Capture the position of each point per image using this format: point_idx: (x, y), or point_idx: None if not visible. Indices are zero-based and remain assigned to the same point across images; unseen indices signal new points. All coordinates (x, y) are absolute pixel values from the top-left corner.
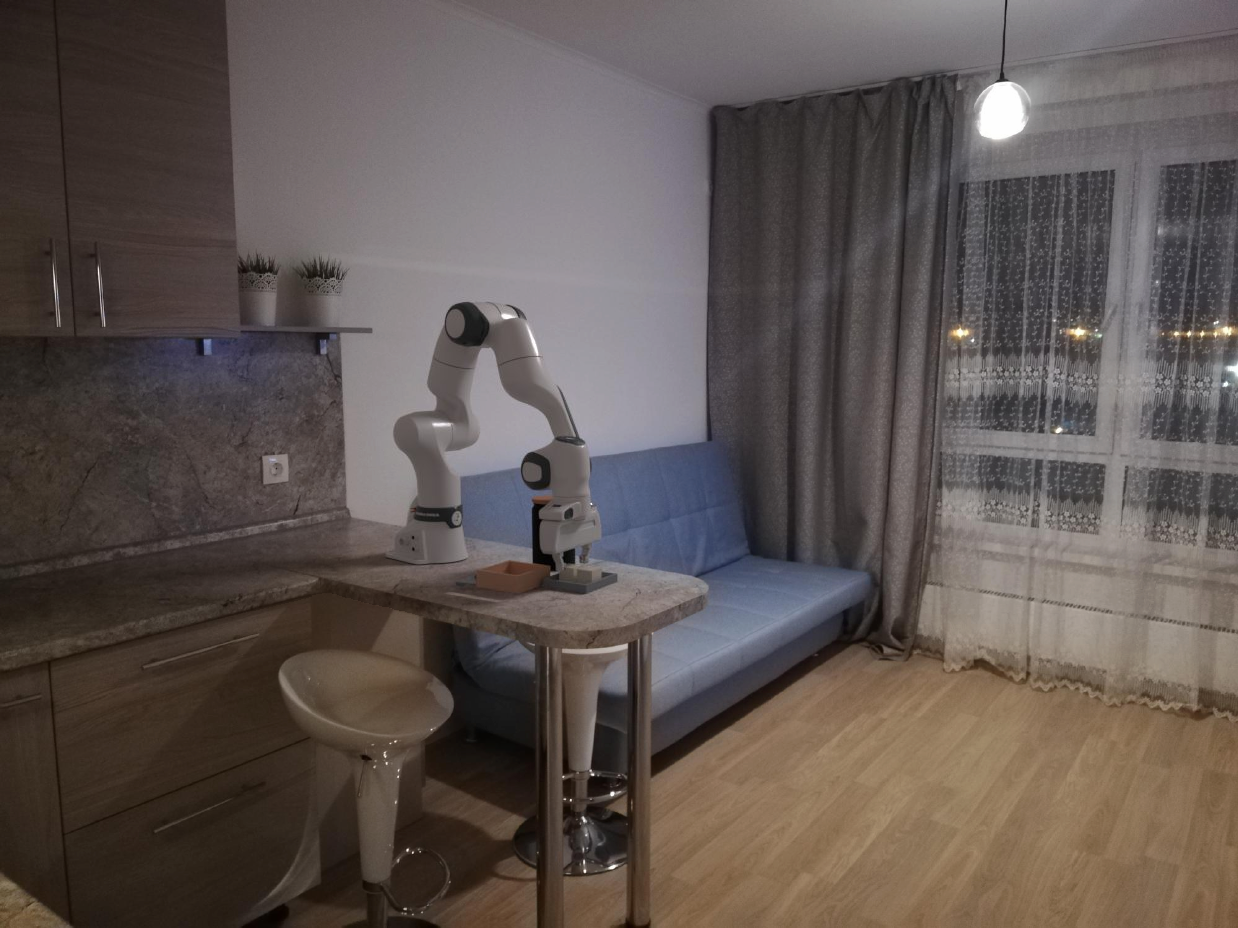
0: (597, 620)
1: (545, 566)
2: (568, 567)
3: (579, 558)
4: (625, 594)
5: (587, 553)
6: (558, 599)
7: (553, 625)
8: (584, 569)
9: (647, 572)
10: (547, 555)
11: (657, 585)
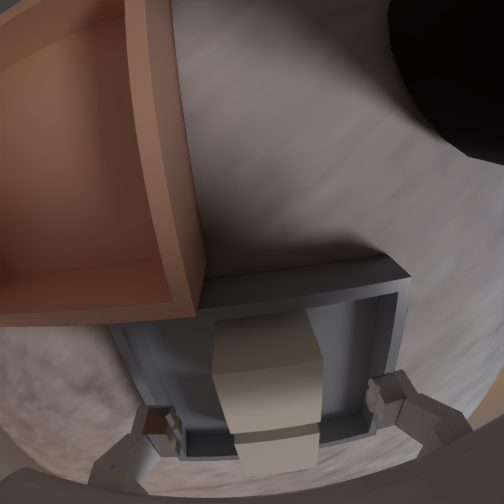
0: None
1: (158, 304)
2: (232, 412)
3: (378, 393)
4: None
5: (405, 428)
6: (97, 398)
7: (24, 444)
8: (249, 458)
9: (499, 357)
10: (450, 65)
11: (387, 448)
